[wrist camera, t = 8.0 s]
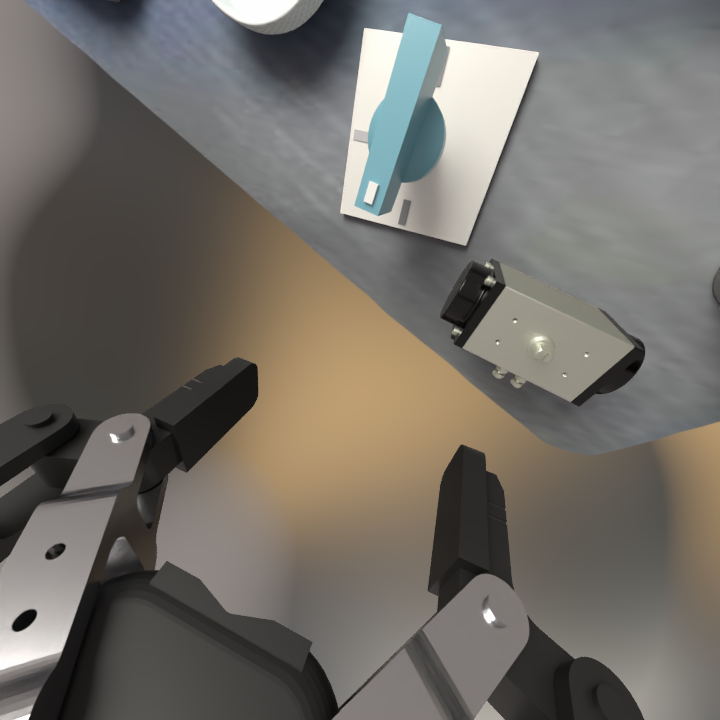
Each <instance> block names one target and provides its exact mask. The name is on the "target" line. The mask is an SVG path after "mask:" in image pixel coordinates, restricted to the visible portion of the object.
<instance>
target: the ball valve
mask: <svg viewBox="0 0 720 720" xmlns="http://www.w3.org/2000/svg"><path fill="white" fill-rule="evenodd" d="M440 318H441V319H443V320H445V321H447V322H449V323H451V324H453V329H452V335H451V339H453V340H454V344H455V345H457V346H459V347H461V348H463V349H465V350H467V351H469V352H471V353H473V354H475V355H477V356H479V357H481V358H483V359H485V360H487V361H489V362H491V363H493V364H495V365H497V368H496V369H494V370H493V371H492V374H493V375H494V376H495V377H496V378H498V379H502V378H503V377H504V376H505V374H507V373H508V372H511V373H513V374H515V377H514V378H512V379H511V381H510V382H511V384H512V385H513V386H514V387H516V388H520V387H522V386H523V385H524V384H523V383H525V382H526V381H529V382H531V383H533V384H535V385H537V386H539V387H541V388H543V389H545V390H547V391H549V392H551V393H553V394H555V395H557V396H559V397H561V398H563V399H565V400H567V401H569V402H571V403H573V404H575V405H577V406H581V405H582V404H583V403H584V402H585V401H587V400H588V399H589V398H590V397H592V396H593V395H594V394H606V393H610V392H612V391H615V390H617V389H619V388H620V387H622V386H623V385H625V384H626V383H627V382H628V381H629V380H631V379H632V377H633V376H634V375H635V374H636V373H637V371H638V370H639V368H640V367H641V365H642V363H643V360H644V357H645V347H644V344H643V343H642V341H641V340H640V339H638V338H636V337H634V336H632V335H630V334H628V333H626V332H625V331H624V330H623V329H622V328H621V327H620V326H619V325H618V324H617V323H616V322H615V321H614V320H613V319H612V318H611V317H610V316H609V315H608V314H607V313H606V312H605V311H603V310H601V309H599V308H597V307H595V306H592V305H590V304H588V303H586V302H584V301H582V300H580V299H577V298H575V297H573V296H571V295H569V294H567V293H565V292H562V291H560V290H558V289H556V288H554V287H552V286H550V285H547V284H545V283H543V282H541V281H539V280H537V279H535V278H532V277H530V276H528V275H526V274H524V273H522V272H520V271H517V270H515V269H513V268H511V267H509V266H507V265H505V264H502V263H500V262H498V261H496V260H494V259H491V260H490V262H486V263H485V264H484V266H483V265H481V264H479V263H477V262H474V261H471V262H470V263H469V264H468V265H467V266H466V268H465V269H464V271H463V272H462V274H461V275H460V277H459V279H458V280H457V282H456V284H455V286H454V287H453V289H452V291H451V293H450V295H449V297H448V298H447V300H446V302H445V305H444V307H443V309H442V311H441V314H440Z"/></svg>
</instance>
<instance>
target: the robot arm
mask: <svg viewBox="0 0 720 720" xmlns="http://www.w3.org/2000/svg"><path fill="white" fill-rule="evenodd" d="M713 290H714V295H715V297H716V299H717V301H718V302H719V303H720V269H719V270H718V272H717V275H716V277H715V279H714V284H713ZM257 397H258V369H257V365H256V364H254V363H251V362H249V361H246V360H244V359H241V358H238V357H237V358H234V359H233V360H231V361H230V362H228V363H227V364H226V365H224V366H222V365H219V366H216V367H213V368H210V369H207V370H205V371H204V372H202V373H201V374H199V375H198V376H196V377H195V378H194V380H191V381H189V382H188V383H186V384H185V385H184V387H180V388H179V389H178V390H176V391H175V392H173V393H172V394H170V395H169V396H168V397H166V398H165V399H163V400H162V401H160V402H159V403H157V404H156V405H154V406H153V407H151V408H150V409H149V410H147V411H146V412H144V413H142V414H135V413H131V414H122V415H118V416H116V417H113V418H110V419H108V420H106V421H95V420H86V419H77V418H76V416H75V414H74V412H73V411H72V409H71V408H70V407H68V406H67V405H63V404H48V405H42V406H38V407H35V408H32V409H29V410H27V411H24V412H22V413H20V414H19V415H17V416H15V417H13V418H11V419H9V420H7V421H6V422H4V423H2V424H0V486H1V485H3V484H4V483H6V482H7V481H9V480H10V479H12V478H13V477H15V476H16V475H18V474H19V473H20V472H22V471H23V470H25V469H26V468H28V467H29V466H31V468H32V469H33V470H34V471H35V474H34V475H32V476H31V477H30V478H28V479H27V480H25V481H24V482H23V483H21V484H20V485H18V486H17V487H15V488H14V489H13V490H11V491H10V492H8V493H7V494H5V495H4V496H3V497H1V498H0V563H1V562H2V561H3V560H4V559H5V558H7V557H8V556H9V555H10V556H9V557H8V559H7V561H6V563H5V565H4V566H3V568H2V570H1V572H0V720H474V718H475V717H476V715H477V714H478V712H479V711H480V709H481V708H482V706H483V705H484V704H485V702H486V701H488V702H489V703H490V704H491V705H492V706H493V707H494V709H495V710H496V711H497V712H498V713H499V714H500V715H501V716H502V717H503V718H504V719H505V720H644V718H643V716H642V713H641V711H640V709H639V707H638V706H637V703H636V702H635V700H634V698H633V697H632V695H631V694H630V692H629V691H628V689H627V688H626V687H625V685H624V684H623V683H622V682H621V680H620V679H619V678H618V677H617V676H616V675H615V674H614V673H613V672H612V671H611V670H610V669H609V668H607V667H606V666H605V665H603V664H602V663H600V662H599V661H597V660H595V659H592V658H589V657H580V658H577V659H574V658H573V657H572V656H570V655H569V654H568V653H567V652H566V651H565V650H563V649H562V648H561V647H560V646H559V645H557V644H556V643H555V642H554V641H553V640H552V639H551V638H549V637H548V636H547V635H546V634H545V633H544V632H543V631H541V630H540V629H539V628H538V627H537V626H536V625H535V624H534V623H533V622H532V620H530V618H529V617H528V615H527V614H526V611H525V608H524V606H523V604H522V602H521V600H520V599H519V597H518V596H517V594H516V593H515V591H514V588H513V584H512V577H511V566H510V555H509V543H508V532H507V525H506V521H507V520H506V511H505V498H504V491H503V489H502V486H501V484H500V482H499V480H498V478H497V476H496V475H495V474H493V473H490V472H488V471H486V460H485V454H484V453H483V452H480V451H478V450H475V449H472V448H470V447H467V446H464V445H460V447H459V448H458V450H457V452H456V453H455V455H454V456H453V458H452V460H451V462H450V463H449V465H448V467H447V468H446V470H445V472H444V474H443V477H442V481H441V485H440V492H439V500H438V509H437V518H436V526H435V534H434V542H433V550H432V559H431V567H430V576H429V584H428V591H429V592H431V593H433V594H435V595H437V596H439V597H438V609H437V612H436V613H435V614H434V615H433V616H432V617H431V618H430V619H429V620H428V621H427V622H426V623H425V624H424V625H423V626H422V627H421V628H420V629H419V630H418V631H417V632H416V633H415V634H414V635H413V636H412V637H411V638H410V639H409V640H408V641H407V642H406V643H405V644H404V645H403V646H402V647H401V648H400V649H399V650H398V651H397V652H396V653H394V654H393V655H392V656H391V657H390V658H389V659H388V660H387V661H386V662H385V663H384V664H383V665H382V666H381V667H380V668H379V669H378V670H377V671H376V672H375V673H374V674H373V675H372V676H371V677H370V678H368V679H367V681H366V682H364V684H363V685H361V686H360V687H359V688H358V689H357V690H356V691H355V692H354V693H353V694H352V695H351V696H350V697H349V698H348V699H347V700H346V701H345V702H344V703H343V704H342V705H341V706H340V707H339V708H338V705H337V701H336V698H335V695H334V692H333V689H332V686H331V684H330V682H329V680H328V678H327V676H326V674H325V672H324V670H323V669H322V667H321V665H320V664H319V662H318V661H317V660H316V658H315V657H314V656H313V655H312V654H311V652H310V651H309V650H310V647H311V645H312V642H311V641H309V640H308V639H306V638H304V637H302V636H301V635H299V634H297V633H295V632H293V631H292V630H290V629H288V628H286V627H284V626H283V625H281V624H279V623H277V622H275V621H273V620H267V619H260V618H254V617H247V616H241V615H234V614H230V613H228V612H227V611H225V609H224V608H223V607H222V606H221V605H220V604H219V602H218V601H217V600H216V598H214V596H213V595H212V594H211V592H210V591H209V590H208V589H207V588H206V586H205V585H204V584H203V583H202V581H201V580H200V579H198V578H196V577H195V576H193V575H191V574H189V573H187V572H186V571H184V570H182V569H180V568H178V567H177V566H175V565H173V564H171V563H169V562H168V561H166V563H165V564H164V565H163V566H162V568H161V569H160V570H155V566H156V558H157V544H156V534H157V529H158V524H159V520H160V515H161V510H162V506H163V501H164V497H165V492H166V487H167V483H168V474H169V473H170V472H171V471H172V470H173V469H174V468H175V467H176V468H178V469H180V470H182V471H184V472H188V471H189V470H190V469H191V468H192V467H193V466H194V465H195V464H196V463H197V462H198V461H199V460H200V459H201V458H202V457H203V456H204V455H205V454H206V453H207V452H208V451H209V450H210V449H211V448H212V447H213V446H214V445H215V444H216V443H217V442H218V441H219V440H220V439H221V438H222V437H223V436H224V435H225V434H226V433H227V432H228V431H229V430H230V429H231V428H232V427H233V426H234V425H235V424H236V423H237V422H238V421H239V420H240V419H241V418H242V417H243V416H244V415H245V414H246V413H247V412H248V411H249V410H250V409H251V408H252V407H253V405H254V404H255V402H256V400H257Z"/></svg>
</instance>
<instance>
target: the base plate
mask: <svg viewBox="0 0 720 720" xmlns="http://www.w3.org/2000/svg"><path fill="white" fill-rule="evenodd" d="M402 35H403V33H397V32H390V31H383V30H375V29H368V28H364V34H363V41H362V49H361V57H360V65H359V72H358V80H357V88H356V96H355V103H354V111H353V119H352V127H351V134H350V142H349V150H348V158H347V166H346V173H345V181H344V189H343V197H342V204H341V212H340V213H343V214H347V215H351V216H354V217H358V218H362V219H366V220H370V221H373V222H377V223H381V224H385V225H389V226H392V227H396V228H400V229H404V230H407V231H411V232H415V233H419V234H423V235H426V236H430V237H434V238H438V239H442V240H445V241H449V242H453V243H457V244H461V245H464V246H466V244H467V242H468V239H469V236H470V234H471V231H472V229H473V226H474V223H475V221H476V218H477V215H478V213H479V210H480V207H481V205H482V202H483V199H484V197H485V194H486V192H487V189H488V186H489V184H490V181H491V178H492V176H493V173H494V170H495V168H496V165H497V163H498V160H499V157H500V155H501V152H502V149H503V147H504V144H505V141H506V139H507V136H508V133H509V131H510V128H511V126H512V123H513V120H514V118H515V115H516V112H517V110H518V107H519V104H520V102H521V99H522V97H523V94H524V91H525V89H526V86H527V83H528V81H529V78H530V75H531V73H532V70H533V67H534V65H535V62H536V60H537V57H538V54H539V52H533V51H526V50H519V49H511V48H504V47H497V46H490V45H483V44H476V43H468V42H461V41H454V40H447V39H445V41H446V46H447V51H448V54H447V57H446V60H445V63H444V66H443V68H442V71H441V74H440V77H439V80H438V82H437V85H436V88H435V91H434V94H433V96H432V97H433V98H434V100H435V101H436V103H437V104H438V106H439V108H440V111H441V113H442V115H443V117H444V120H445V125H446V143H445V147H444V151H443V154H442V156H441V158H440V160H439V162H438V164H437V165H436V167H435V168H434V169H433V170H432V171H431V172H430V173H429V174H428V175H427V176H426V177H424V178H422V179H420V180H418V181H415V182H411V183H401V186H400V189H399V191H398V194H397V197H396V200H395V203H394V205H393V208H392V211H391V212H389V213H386V214H383V215H380V216H376V215H374V214H372V213H369V212H367V211H365V210H363V209H360V208H358V207H356V206H354V205H355V201H356V198H357V194H358V191H359V187H360V183H361V180H362V176H363V173H364V169H365V166H366V162H367V159H368V155H369V149H368V131H369V126H370V122H371V119H372V117H373V114H374V112H375V110H376V109H377V107H378V106H379V104H380V103H381V102H382V100H383V99H384V98H385V95H386V91H387V88H388V84H389V81H390V77H391V74H392V70H393V66H394V63H395V59H396V56H397V52H398V49H399V45H400V42H401V38H402Z"/></svg>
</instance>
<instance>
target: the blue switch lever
mask: <svg viewBox="0 0 720 720" xmlns="http://www.w3.org/2000/svg"><path fill="white" fill-rule="evenodd" d="M447 54H448V51H447V46H446V41H445V37H444V32H443V28H442V25H440V24H437V23H435V22H432V21H429V20H427V19H424V18H421V17H419V16H416V15H413V14H410V13H408V17H407V20H406V24H405V27H404V31H403V35H402V38H401V42H400V45H399V49H398V52H397V56H396V59H395V63H394V66H393V70H392V74H391V77H390V81H389V84H388V88H387V91H386V95H385V98H384V99H383V100H382V102H381V103H380V104H379V106H378V107H377V109H376V110H375V112H374V114H373V117H372V119H371V122H370V126H369V131H368V149H369V155H368V159H367V162H366V166H365V169H364V173H363V176H362V180H361V183H360V187H359V191H358V194H357V198H356V201H355V205H354V206H356V207H358V208H360V209H363V210H365V211H367V212H369V213H372V214H374V215H376V216H380V215H383V214H386V213H389V212H391V211H392V208H393V205H394V203H395V200H396V197H397V194H398V191H399V189H400V186H401V183H411V182H415V181H418V180H420V179H422V178H424V177H426V176H427V175H428V174H429V173H430V172H431V171H432V170H433V169H434V168H435V167H436V165H437V164H438V162H439V160H440V158H441V156H442V154H443V151H444V147H445V143H446V125H445V120H444V117H443V115H442V113H441V111H440V108H439V106H438V104H437V103H436V101H435V100H434V98H433V97H432V96H433V94H434V91H435V88H436V85H437V82H438V80H439V77H440V74H441V71H442V68H443V66H444V63H445V60H446V57H447Z"/></svg>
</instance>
